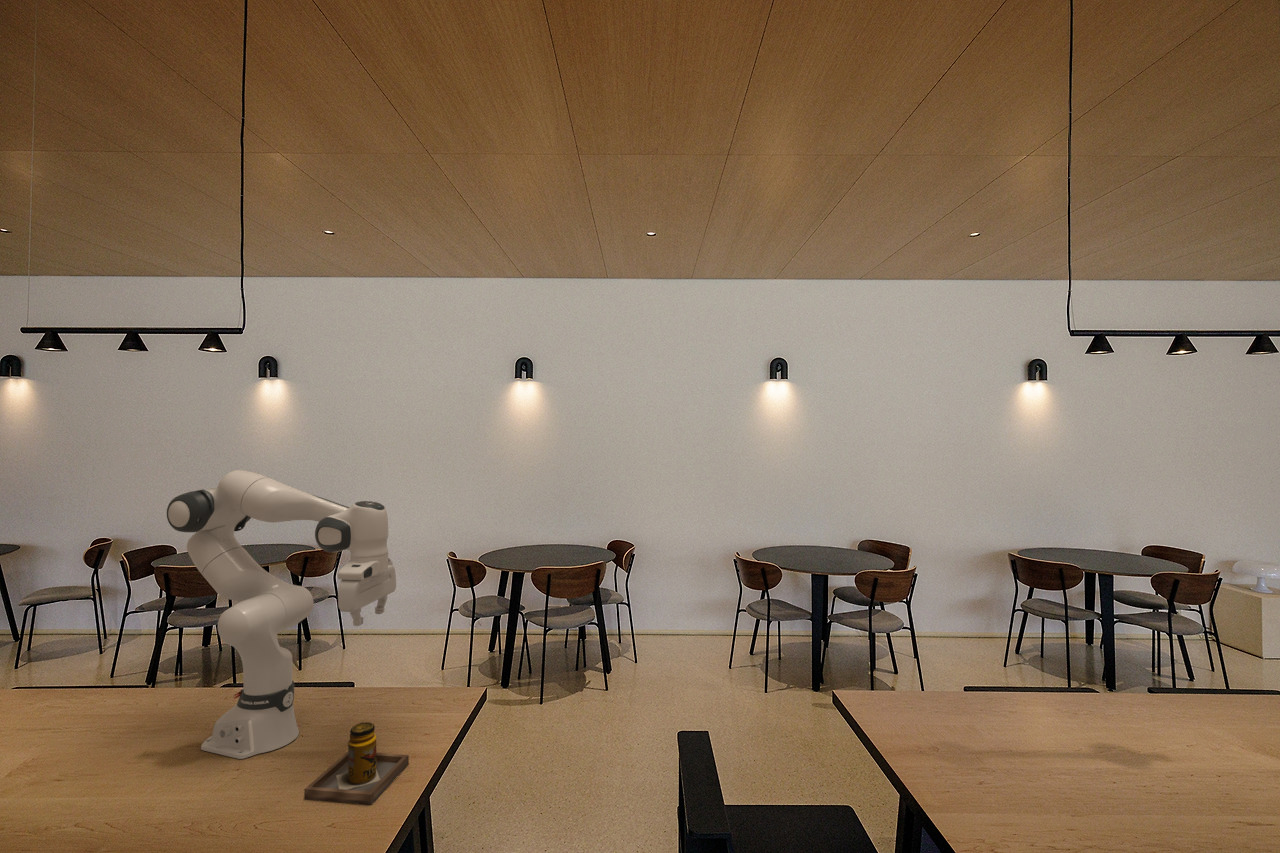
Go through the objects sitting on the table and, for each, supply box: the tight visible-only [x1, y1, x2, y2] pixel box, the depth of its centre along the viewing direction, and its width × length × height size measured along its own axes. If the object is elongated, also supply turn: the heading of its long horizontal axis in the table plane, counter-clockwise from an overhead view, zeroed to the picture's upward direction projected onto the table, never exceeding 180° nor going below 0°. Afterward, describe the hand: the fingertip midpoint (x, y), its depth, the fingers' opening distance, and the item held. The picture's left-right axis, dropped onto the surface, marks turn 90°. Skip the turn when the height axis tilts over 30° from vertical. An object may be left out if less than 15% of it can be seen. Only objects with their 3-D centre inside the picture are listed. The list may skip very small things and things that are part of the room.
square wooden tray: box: [303, 751, 410, 806], centre depth 139 cm, size 16×16×2 cm
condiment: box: [336, 721, 380, 790], centre depth 139 cm, size 7×8×12 cm
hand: (369, 619), depth 152 cm, fingers open, 8 cm apart
